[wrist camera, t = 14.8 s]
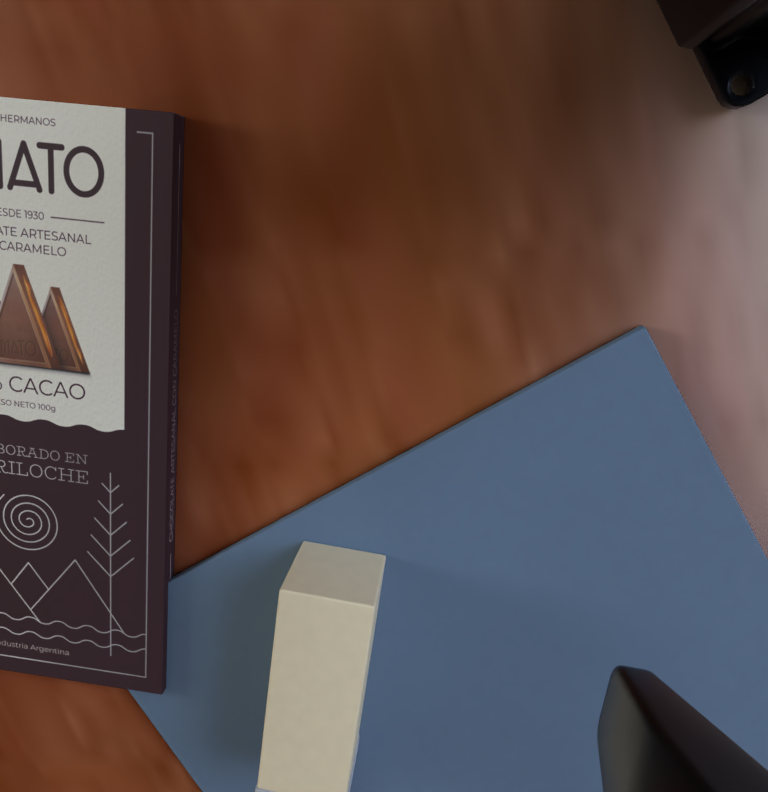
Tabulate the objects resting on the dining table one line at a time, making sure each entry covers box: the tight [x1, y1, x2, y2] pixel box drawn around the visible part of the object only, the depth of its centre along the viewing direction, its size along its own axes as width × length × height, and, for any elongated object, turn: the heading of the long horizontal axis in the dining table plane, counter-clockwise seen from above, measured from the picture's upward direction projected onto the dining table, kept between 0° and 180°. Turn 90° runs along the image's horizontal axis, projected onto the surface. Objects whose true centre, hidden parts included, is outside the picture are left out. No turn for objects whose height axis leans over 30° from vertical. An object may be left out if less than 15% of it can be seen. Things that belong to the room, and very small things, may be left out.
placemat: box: [128, 325, 768, 792], centre depth 22 cm, size 20×16×1 cm
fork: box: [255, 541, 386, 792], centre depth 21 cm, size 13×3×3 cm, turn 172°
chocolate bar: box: [0, 97, 185, 695], centre depth 21 cm, size 9×1×18 cm
